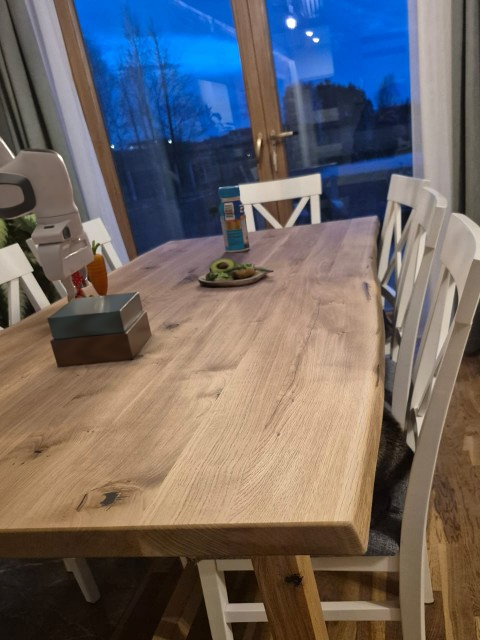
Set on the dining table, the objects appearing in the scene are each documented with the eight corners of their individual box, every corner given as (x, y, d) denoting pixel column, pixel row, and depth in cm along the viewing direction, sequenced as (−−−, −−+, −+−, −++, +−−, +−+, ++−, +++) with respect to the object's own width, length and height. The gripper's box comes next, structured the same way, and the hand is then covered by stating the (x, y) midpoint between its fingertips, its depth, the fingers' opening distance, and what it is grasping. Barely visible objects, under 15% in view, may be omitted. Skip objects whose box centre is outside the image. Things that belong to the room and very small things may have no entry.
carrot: (105, 295, 153) (91, 237, 146) (117, 296, 150) (103, 237, 144) (89, 300, 149) (74, 241, 143) (101, 302, 146) (86, 242, 140)
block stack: (57, 367, 105) (43, 319, 101) (84, 341, 117) (72, 298, 114) (133, 359, 104) (121, 311, 100) (151, 334, 117) (141, 290, 113)
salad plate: (285, 270, 158) (283, 253, 156) (258, 287, 143) (256, 269, 141) (223, 271, 165) (220, 255, 163) (191, 288, 150) (187, 270, 148)
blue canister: (220, 252, 193) (210, 188, 184) (240, 247, 198) (231, 185, 189) (235, 254, 187) (225, 188, 179) (255, 248, 192) (247, 184, 184)
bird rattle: (99, 327, 133) (104, 302, 139) (80, 289, 125) (88, 264, 131) (72, 331, 133) (79, 305, 139) (52, 292, 125) (60, 267, 131)
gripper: (65, 223, 135) (81, 281, 141) (27, 238, 116) (47, 304, 122) (91, 219, 135) (106, 278, 140) (57, 234, 116) (76, 301, 122)
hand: (78, 290), depth 131 cm, fingers closed on bird rattle, 6 cm apart
